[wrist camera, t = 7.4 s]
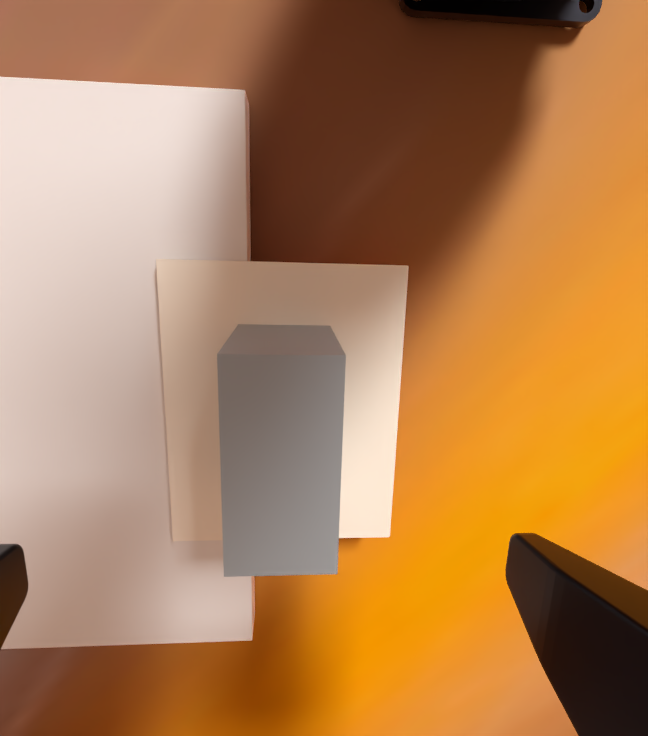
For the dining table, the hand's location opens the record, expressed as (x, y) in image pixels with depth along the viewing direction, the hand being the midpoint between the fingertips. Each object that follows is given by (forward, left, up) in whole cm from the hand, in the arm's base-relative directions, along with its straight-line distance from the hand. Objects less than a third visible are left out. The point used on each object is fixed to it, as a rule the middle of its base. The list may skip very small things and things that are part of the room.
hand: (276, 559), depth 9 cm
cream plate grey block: (0, 0, -8) cm, 8 cm away
